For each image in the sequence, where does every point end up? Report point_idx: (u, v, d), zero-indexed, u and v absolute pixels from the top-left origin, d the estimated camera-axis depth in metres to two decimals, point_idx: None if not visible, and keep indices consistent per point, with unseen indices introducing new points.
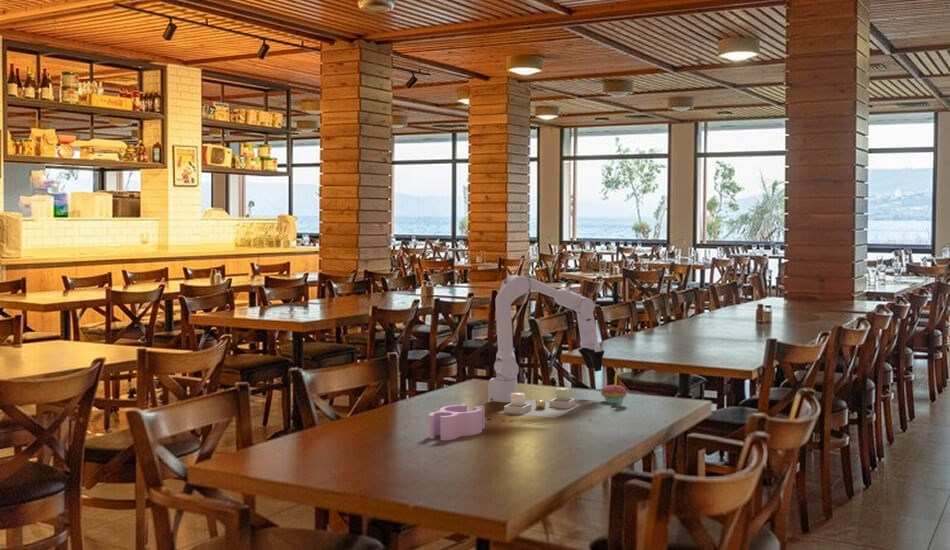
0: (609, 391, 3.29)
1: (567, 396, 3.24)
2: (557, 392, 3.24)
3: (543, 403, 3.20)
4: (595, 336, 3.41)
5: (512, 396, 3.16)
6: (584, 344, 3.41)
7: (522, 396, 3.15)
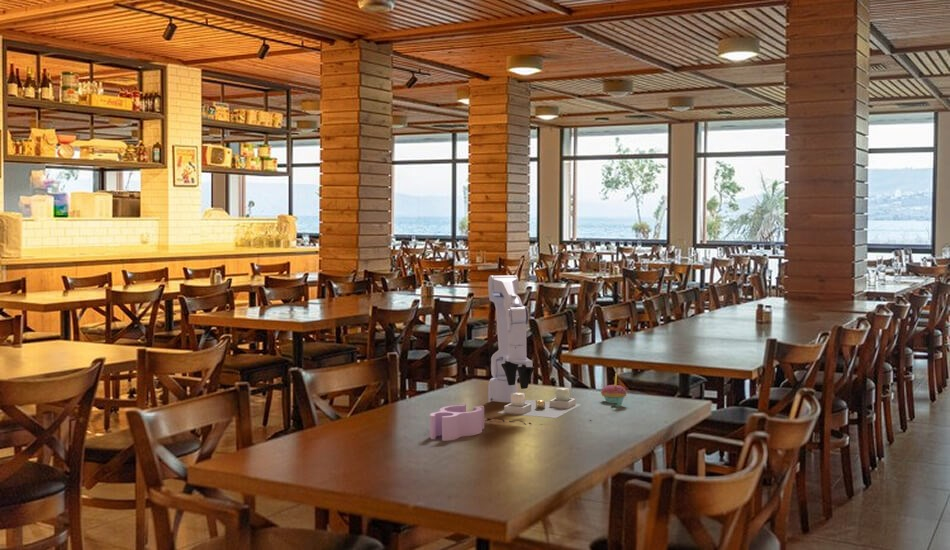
0: (609, 391, 3.29)
1: (567, 396, 3.24)
2: (557, 392, 3.24)
3: (543, 403, 3.20)
4: None
5: (512, 396, 3.16)
6: None
7: (522, 396, 3.15)
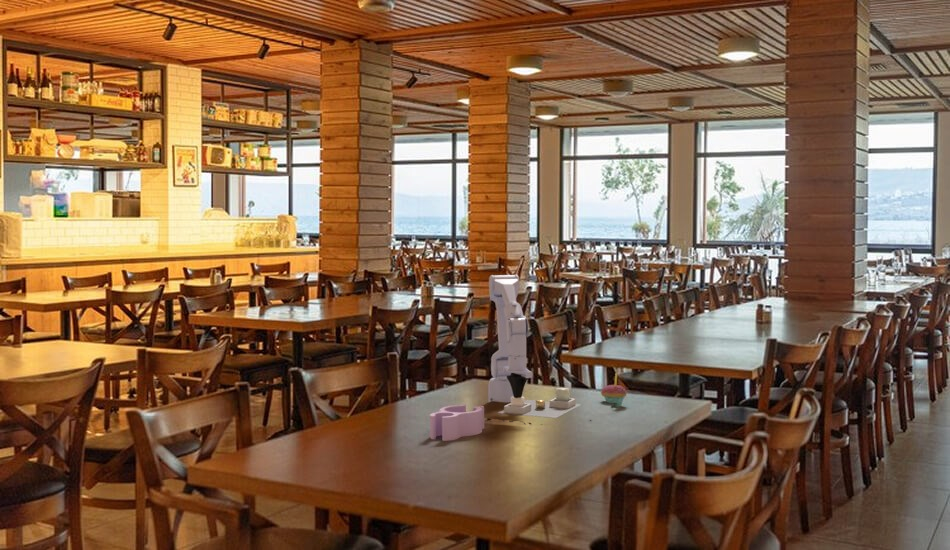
0: (609, 391, 3.29)
1: (567, 396, 3.24)
2: (557, 392, 3.24)
3: (543, 403, 3.20)
4: None
5: (512, 400, 3.16)
6: None
7: (522, 400, 3.16)
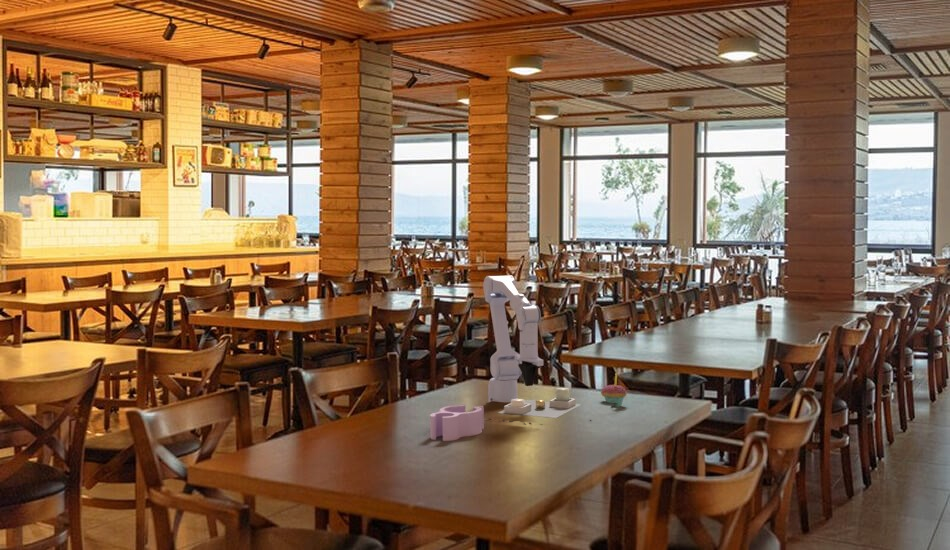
0: (609, 391, 3.29)
1: (567, 396, 3.24)
2: (557, 392, 3.24)
3: (543, 403, 3.20)
4: None
5: (512, 402, 3.16)
6: None
7: (522, 402, 3.16)
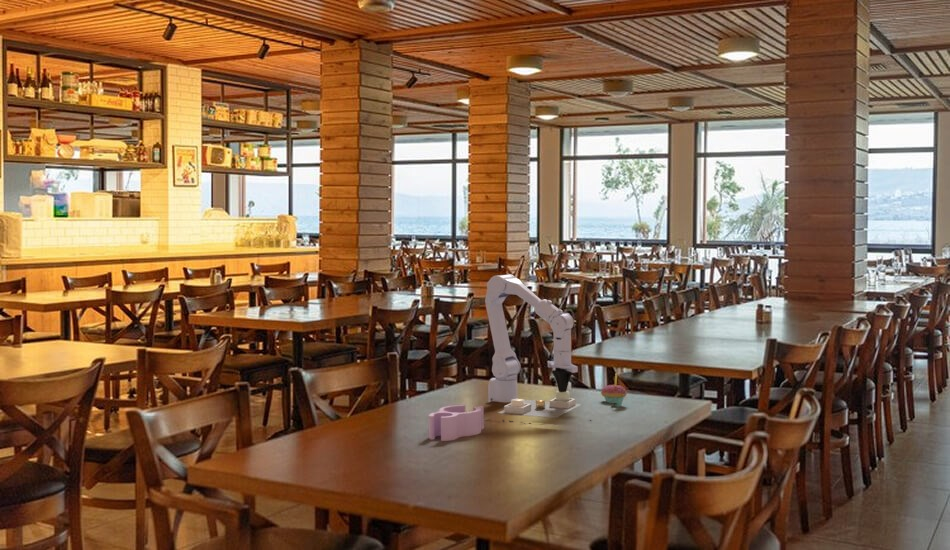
0: (609, 391, 3.29)
1: (567, 399, 3.24)
2: (557, 395, 3.24)
3: (543, 403, 3.20)
4: None
5: (512, 402, 3.16)
6: None
7: (522, 402, 3.16)
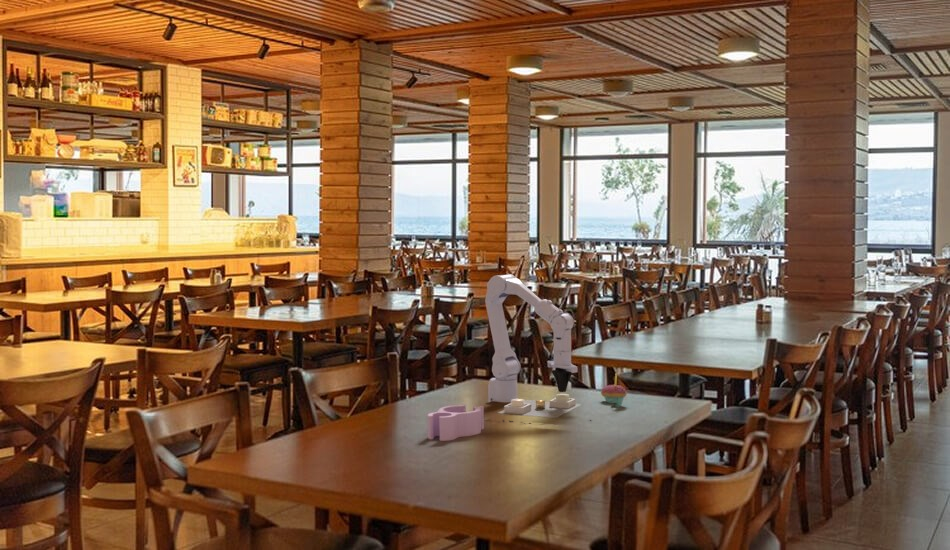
0: (609, 391, 3.29)
1: None
2: (557, 398, 3.24)
3: (543, 403, 3.20)
4: None
5: (512, 402, 3.16)
6: None
7: (522, 402, 3.16)
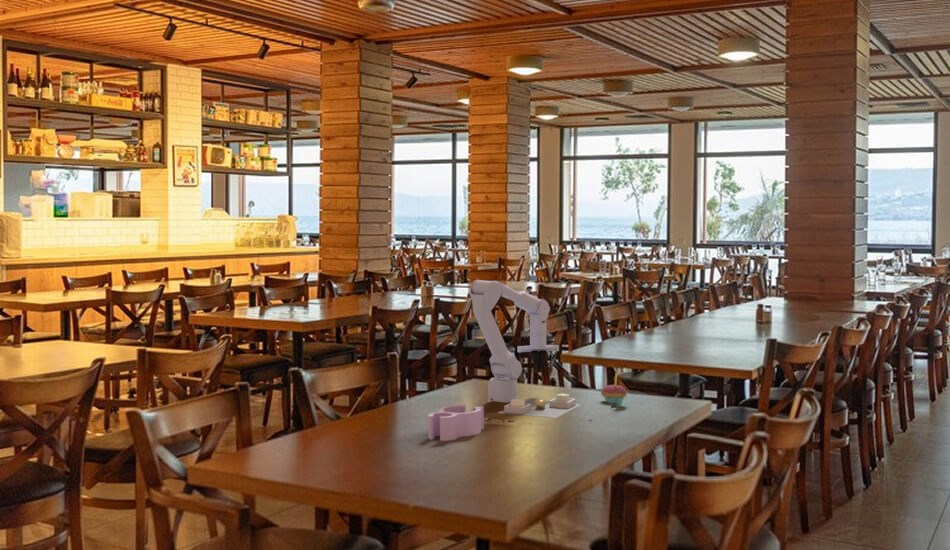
0: (609, 391, 3.29)
1: None
2: (557, 398, 3.24)
3: (543, 403, 3.20)
4: (532, 339, 3.43)
5: (512, 402, 3.16)
6: None
7: (522, 402, 3.16)
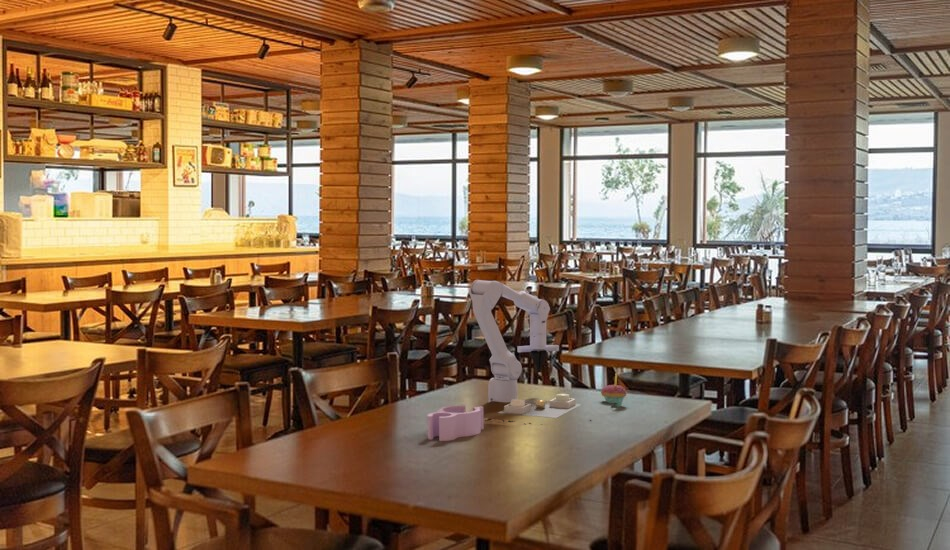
0: (609, 391, 3.29)
1: None
2: (557, 398, 3.24)
3: (543, 403, 3.20)
4: (532, 339, 3.43)
5: (512, 402, 3.16)
6: None
7: (522, 402, 3.16)
